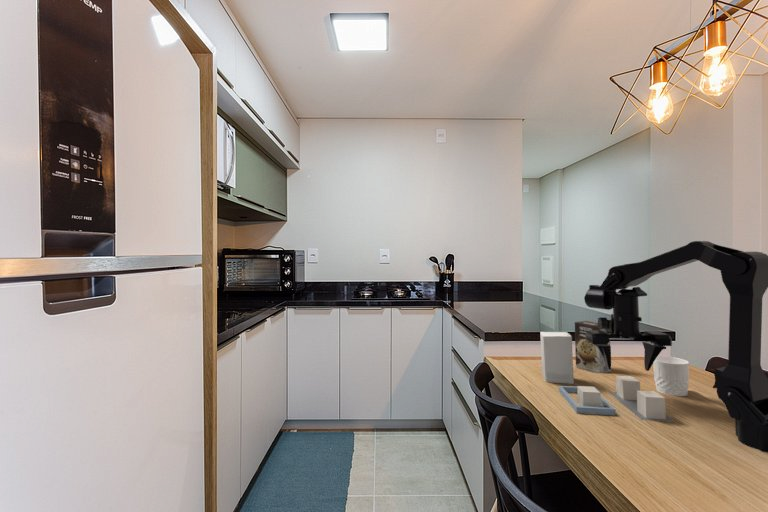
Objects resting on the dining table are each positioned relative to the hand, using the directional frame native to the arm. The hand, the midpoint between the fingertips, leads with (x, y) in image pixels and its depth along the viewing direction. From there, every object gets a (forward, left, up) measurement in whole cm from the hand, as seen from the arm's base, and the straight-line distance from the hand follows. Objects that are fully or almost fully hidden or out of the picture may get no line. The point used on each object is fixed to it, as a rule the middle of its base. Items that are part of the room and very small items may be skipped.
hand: (627, 369), depth 93 cm
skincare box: (+12, +15, -9) cm, 21 cm away
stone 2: (0, 0, -7) cm, 7 cm away
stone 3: (-11, 0, -7) cm, 13 cm away
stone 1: (-8, +13, -8) cm, 17 cm away
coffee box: (+28, -1, -9) cm, 29 cm away
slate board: (-5, 0, -9) cm, 10 cm away
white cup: (+6, -13, -9) cm, 17 cm away
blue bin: (-5, +13, -9) cm, 16 cm away
